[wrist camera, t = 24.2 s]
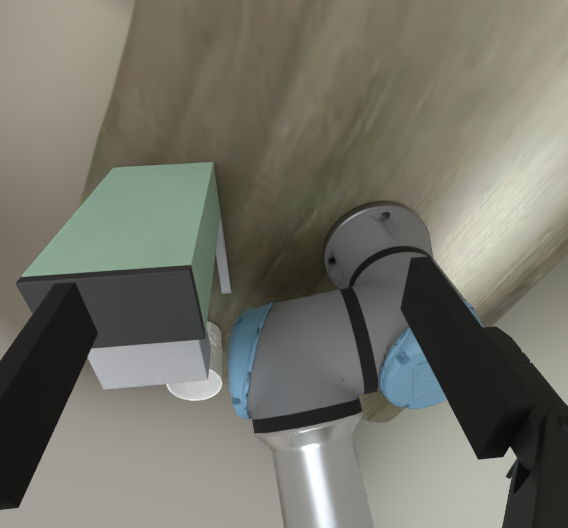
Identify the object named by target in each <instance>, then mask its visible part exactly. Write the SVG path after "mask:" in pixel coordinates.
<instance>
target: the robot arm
mask: <svg viewBox="0 0 568 528" xmlns="http://www.w3.org/2000/svg"><path fill="white" fill-rule="evenodd" d="M323 261H324V265H325V268H326V271H327V274H328V276H329V278H330V279H331V281H332V282H333V283H334V284H335V285H336V286H337V287H338V288H339V290H334V291H330V292H325V293H320V294H316V295H311V296H306V297H301V298H296V299H291V300H287V301H282V302H276V301H273V302H270V303H269V304H268V305H264V306H261V307H257V308H253V309H249V310H246V311H244V312H243V313H241V314H240V315H239V316H238V318H237V319H236V321H235V323H234V325H233V329H232V332H231V336H230V342H229V354H228V375H229V388H230V393H231V396H232V400H233V407H234V410H235V412H236V413H237V415H238V416H239V417H242V418H245V419H250V418H252V421H253V428H254V434H255V437H256V438H258V439H259V440H261V441H262V442H263V443H264V444H266V445H267V446H268V447H269V448H270V449H271V451H272V454H273V461H274V467H275V473H276V480H277V486H278V492H279V498H280V505H281V511H282V517H283V524H284V528H374V525H373V521H372V516H371V512H370V508H369V503H368V499H367V495H366V490H365V486H364V482H363V477H362V473H361V468H360V464H359V460H358V455H357V451H356V446H355V443H354V438H353V433H354V429H355V427H356V426H357V424H358V422H359V420H360V419H361V417H362V415H363V412H362V408H361V404H360V400H359V395H362V394H367V393H372V392H378V391H381V392H382V393H383V394H384V397H386V398H387V399H388V400H389V401H390V402H391V403H392V404H394V405H395V406H398V407H403V406H404V407H405V408H408V409H418V408H425V407H429V406H432V405H436V404H439V403H441V402H443V401H446V400H448V402H449V404H450V406H451V408H452V410H453V412H454V414H455V416H456V418H457V419H458V421H459V423H460V425H461V427H462V429H463V431H464V433H465V435H466V437H467V439H468V441H469V442H470V444H471V446H472V448H473V450H474V452H475V454H476V456H477V458H478V459H488V458H498V457H504V455H505V453H506V452H507V450H508V448H509V447H511V448H512V450H513V452H514V453H515V455H516V457H517V459H516V461H515V462H514V464H513V465H512V467H511V469H510V470H509V472H508V474H507V475H506V477H507V478H509V479H510V478H511V477H512V479H511V484H510V489H509V494H508V500H507V505H506V510H505V516H504V521H503V526H502V528H568V406H567V405H566V404H565V403H564V402H563V400H562V399H561V398H560V397H559V396H558V394H557V393H556V392H555V391H554V389H553V388H552V387H551V386H550V384H549V383H548V382H547V381H546V379H545V378H544V377H543V376H542V375H541V373H540V372H539V371H538V370H537V368H536V367H535V366H534V365H533V364H532V363H530V360H529V359H528V357H527V356H526V355H525V354H524V353H522V351H521V349H520V348H519V346H518V345H517V344H516V343H515V341H514V340H513V339H512V338H511V337H510V336H509V335H507V334H506V333H505V332H503V331H502V330H500V329H499V328H497V327H485V328H484V327H483V325H482V323H481V322H480V320H479V319H478V317H477V315H476V312H475V310H474V308H473V307H472V306H471V305H470V304H469V303H467V301H466V300H465V299H464V298H463V296H462V295H461V294H460V292H459V291H458V290H457V289H456V287H455V286H454V285H453V283H452V282H451V281H450V280H449V278H448V277H447V276H446V274H445V273H444V272H443V271H442V269H441V268H440V267H439V265H438V264H437V263H436V262H435V260H434V259H433V253H432V247H431V241H430V236H429V232H428V229H427V227H426V225H425V224H424V222H423V221H422V220H421V219H420V218H419V216H418V215H417V214H416V213H415V212H414V211H413V210H411V209H410V208H408V207H406V206H404V205H402V204H399V203H395V202H386V201H384V202H373V203H369V204H365V205H362V206H360V207H357V208H355V209H353V210H352V211H350V212H348V213H347V214H346V215H344V216H343V217H342V218H341V219H340V220H338V221H337V222H336V224H335V225H334V226H333V227H332V229H331V230H330V232H329V234H328V235H327V238H326V240H325V243H324V247H323ZM97 335H98V331H97V329H96V327H95V325H94V323H93V320H92V318H91V316H90V314H89V312H88V309H87V307H86V305H85V303H84V301H83V298H82V296H81V294H80V292H79V290H78V287H77V285H76V283H75V282H69V283H55V284H54V285H53V286H52V288H51V289H50V291H49V292H48V293H47V295H46V296H45V298H44V299H43V301H42V302H41V303H40V305H39V306H38V308H37V309H36V311H35V312H34V313H33V315H32V316H31V318H30V319H29V321H28V322H27V323H26V325H25V326H24V328H23V329H22V331H21V332H20V333H19V335H18V336H17V338H16V339H15V340H14V342H13V343H12V345H11V346H10V348H9V349H8V350H7V352H6V353H5V355H4V356H3V358H2V359H1V361H0V510H3V509H12V508H18V507H19V506H20V503H21V501H22V499H23V497H24V495H25V492H26V490H27V488H28V486H29V484H30V481H31V479H32V477H33V475H34V472H35V471H36V468H37V466H38V464H39V462H40V460H41V457H42V455H43V453H44V451H45V449H46V446H47V444H48V442H49V440H50V438H51V436H52V433H53V431H54V429H55V427H56V425H57V423H58V420H59V418H60V416H61V414H62V412H63V409H64V407H65V405H66V403H67V401H68V398H69V396H70V394H71V392H72V390H73V388H74V385H75V383H76V381H77V379H78V377H79V374H80V372H81V370H82V368H83V366H84V363H85V361H86V359H87V357H88V355H89V353H90V350H91V348H92V346H93V344H94V342H95V339H96V337H97Z"/></svg>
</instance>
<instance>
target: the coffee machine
mask: <svg viewBox="0 0 568 528" xmlns="http://www.w3.org/2000/svg"><path fill="white" fill-rule="evenodd" d="M215 254H216V259H217V265H218V272H219V278H220V284H221V290H222V294H225V293H231V282H230V275H229V268H228V261H227V254H226V247H225V240H224V233H223V226H222V219H221V212H220V205H219V198H218V191H217V184H216V177H215V169H214V162H202V163H184V164H166V165H149V166H131V167H114V168H113V169H112V170H111V171H110V172H109V173H108V174H107V176H106V177H105V178H104V179H103V180H102V182H101V183H100V184H99V185H98V186H97V187H96V189H95V190H94V191H93V192H92V193H91V195H90V196H89V197H88V198H87V199H86V200H85V202H84V203H83V204H82V205H81V206H80V208H79V209H78V210H77V211H76V212H75V213H74V215H73V216H72V217H71V218H70V219H69V221H68V222H67V223H66V224H65V225H64V226H63V228H62V229H61V230H60V231H59V232H58V234H57V235H56V236H55V237H54V238H53V240H52V241H51V242H50V243H49V244H48V245H47V247H46V248H45V249H44V250H43V251H42V253H41V254H40V255H39V256H38V257H37V259H36V260H35V261H34V262H33V263H32V264H31V266H30V267H29V268H28V269H27V270H26V271H25V273H24V274H23V275H22V277H20V279H19V280H18V281H17V282H16V285H17V287H18V289H19V291H20V292H21V294H22V296H23V298H24V299H25V301H26V303H27V304H28V306H29V308H30V310H31V312H32V313H34V312H35V311H36V309H37V308H38V306H39V305H40V303H41V302H42V301H43V299H44V298H45V296H46V295H47V293H48V292H49V291H50V289H51V288H52V286H53V285H54V284H55V283H69V282H75V283H76V285H77V287H78V290H79V292H80V294H81V296H82V298H83V301H84V303H85V305H86V307H87V309H88V312H89V314H90V316H91V318H92V320H93V323H94V325H95V327H96V329H97V331H98V335H97V337H96V339H95V342H94V344H93V346H92V348H91V350H90V353H89V355H88V359H89V361H90V363H91V365H92V367H93V369H94V371H95V373H96V375H97V377H98V379H99V381H100V383H101V385H102V387H103V388H104V389H114V388H124V387H137V386H148V385H159V384H171V383H182V382H193V381H204V380H208V375H209V365H210V356H211V347H210V342H209V337H208V332H207V319H208V310H209V302H210V294H211V286H212V278H213V270H214V262H215Z"/></svg>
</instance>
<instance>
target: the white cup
mask: <svg viewBox="0 0 568 528" xmlns="http://www.w3.org/2000/svg"><path fill="white" fill-rule="evenodd" d="M207 332H208V337H209V342H210V347H211V356H210V365H209V375H208V380H204V381H193V382H182V383H171V384H166V385H167V388H168V389H169V391H170V392H171V393H172V394H174V395H175V396H177V397H179V398H182V399H186V400H193V401H197V400H204V399H207V398H210V397H213V396H214V395H216V394H217V393H218V392H219V391H220V389H221V387H222V343H221V340H222V332H221V331H220V329H219V327H218V326H217V325H215V324H214V323H212V322H210V321H207Z"/></svg>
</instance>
